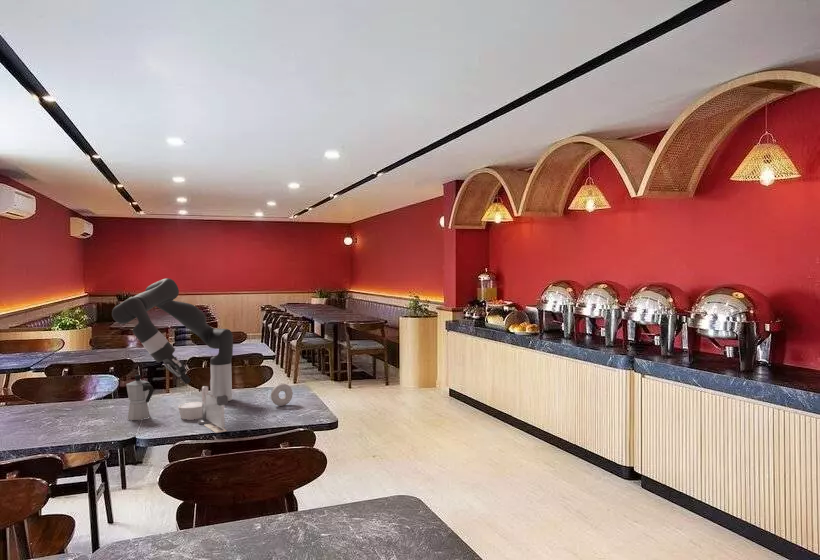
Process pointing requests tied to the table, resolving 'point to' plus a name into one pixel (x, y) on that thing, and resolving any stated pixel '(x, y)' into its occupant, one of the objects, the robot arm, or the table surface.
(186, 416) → the ramekin
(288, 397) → the donut
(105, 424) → the table surface
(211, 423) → the label
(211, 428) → the label
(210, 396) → the white upright panel
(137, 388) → the coffee maker
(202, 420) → the pivot base
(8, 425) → the table surface
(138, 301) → the robot arm
